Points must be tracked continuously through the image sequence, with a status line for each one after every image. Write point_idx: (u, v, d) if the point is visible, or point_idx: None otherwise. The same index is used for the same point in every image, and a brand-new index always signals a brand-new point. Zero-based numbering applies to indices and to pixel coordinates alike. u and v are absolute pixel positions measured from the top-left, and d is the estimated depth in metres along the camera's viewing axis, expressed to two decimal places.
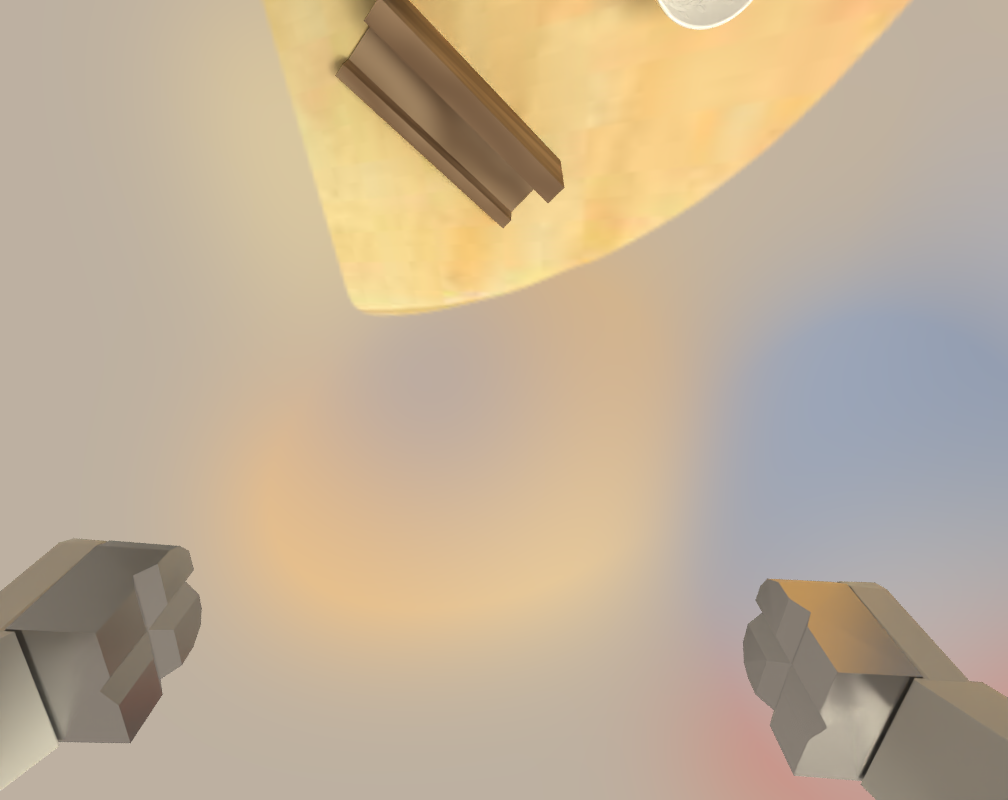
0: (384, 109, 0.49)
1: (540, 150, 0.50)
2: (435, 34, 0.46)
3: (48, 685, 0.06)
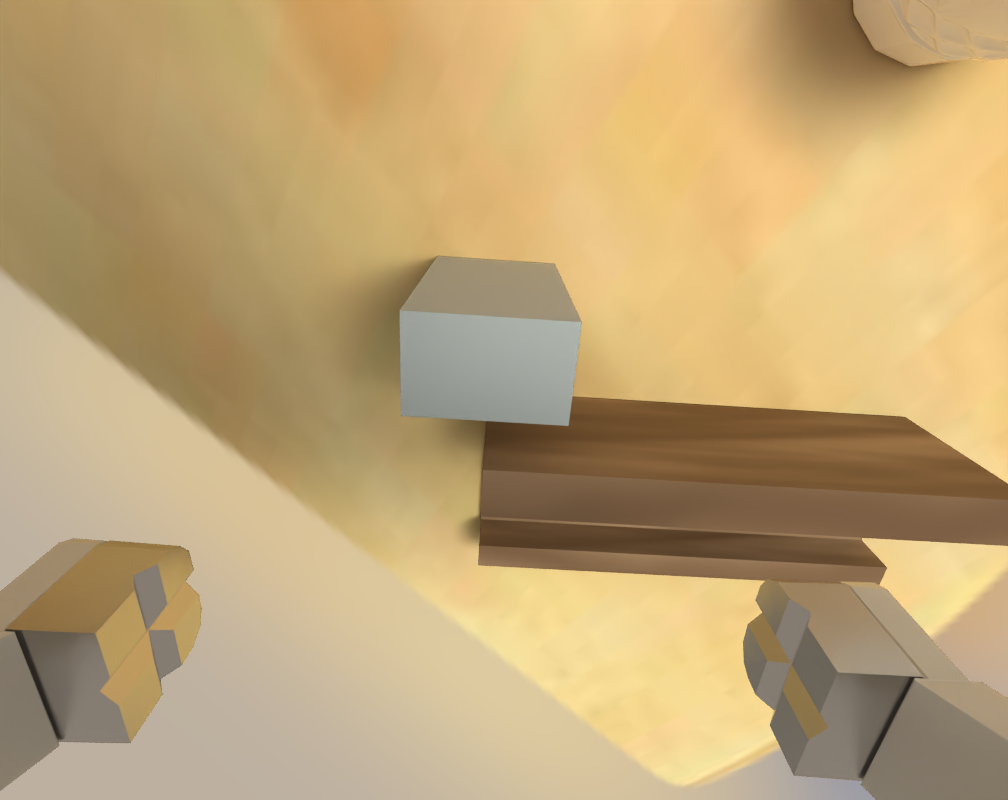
0: (574, 558, 0.26)
1: (890, 448, 0.23)
2: (587, 413, 0.24)
3: (48, 685, 0.06)
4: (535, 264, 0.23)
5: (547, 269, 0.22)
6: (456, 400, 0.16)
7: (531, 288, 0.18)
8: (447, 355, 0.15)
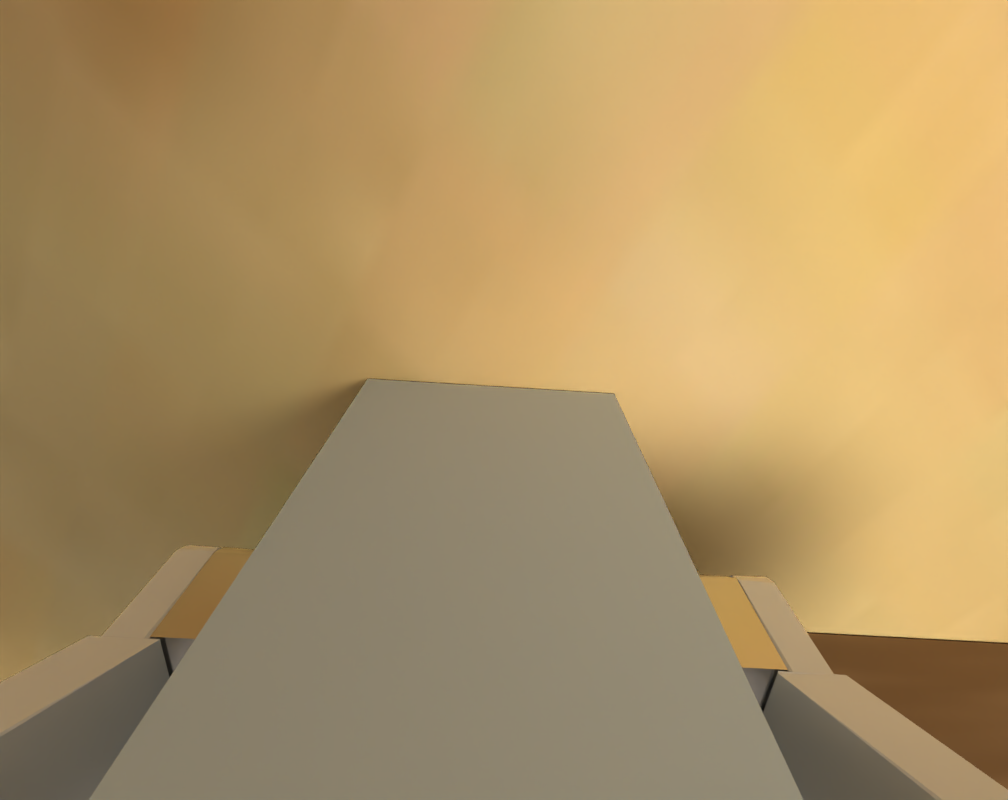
0: None
1: None
2: None
3: None
4: (575, 400, 0.11)
5: (605, 423, 0.10)
6: None
7: (589, 558, 0.06)
8: None
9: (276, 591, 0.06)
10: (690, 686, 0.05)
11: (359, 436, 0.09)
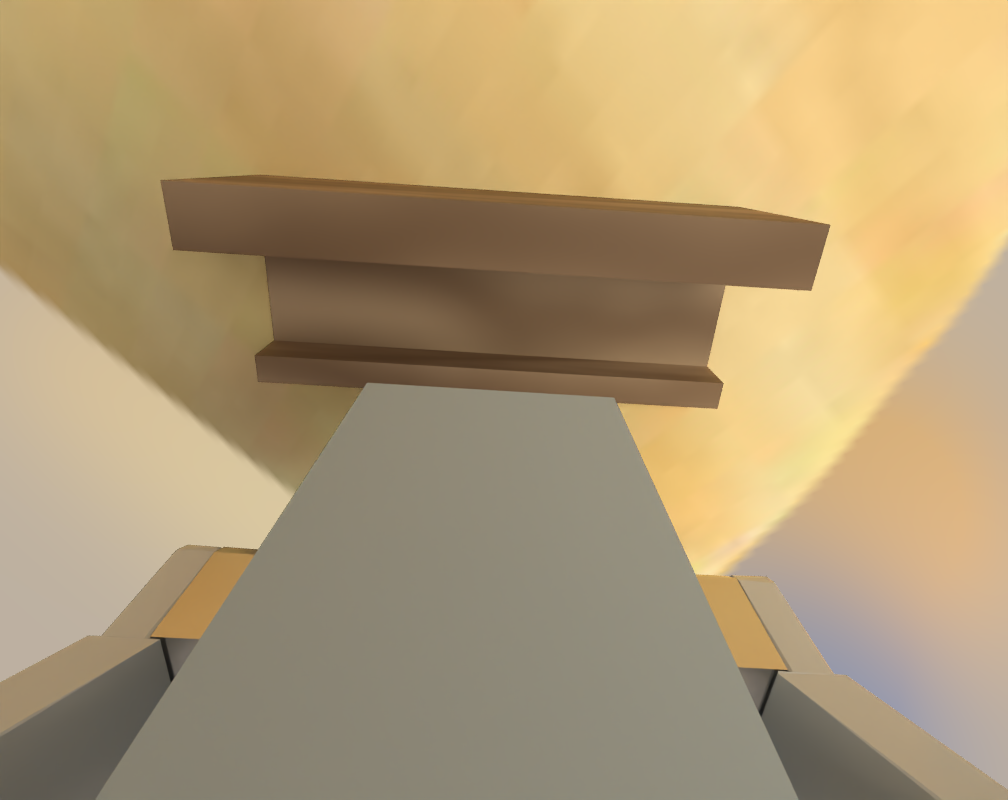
0: (365, 372, 0.23)
1: (696, 209, 0.20)
2: (357, 183, 0.21)
3: None
4: (575, 404, 0.11)
5: (605, 427, 0.10)
6: None
7: (589, 566, 0.06)
8: None
9: (275, 600, 0.05)
10: (690, 696, 0.05)
11: (358, 441, 0.09)
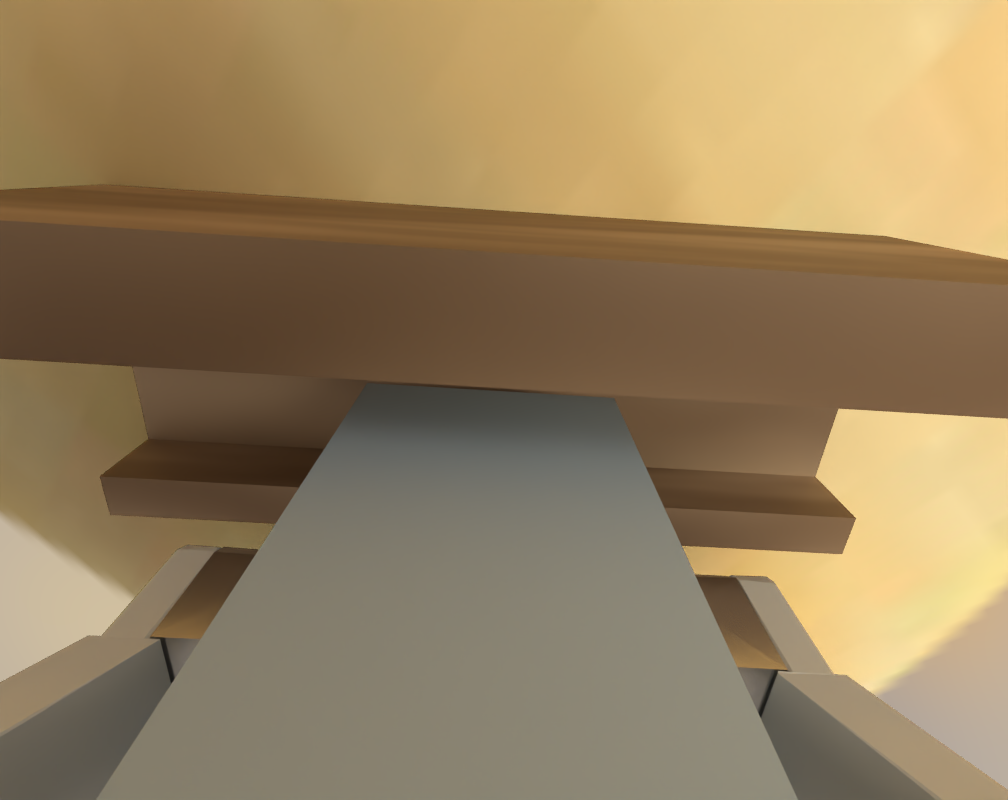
0: (281, 500, 0.14)
1: (850, 248, 0.11)
2: (251, 200, 0.12)
3: None
4: (575, 404, 0.11)
5: (605, 428, 0.10)
6: None
7: (589, 566, 0.06)
8: None
9: (275, 600, 0.05)
10: (690, 696, 0.05)
11: (359, 442, 0.09)
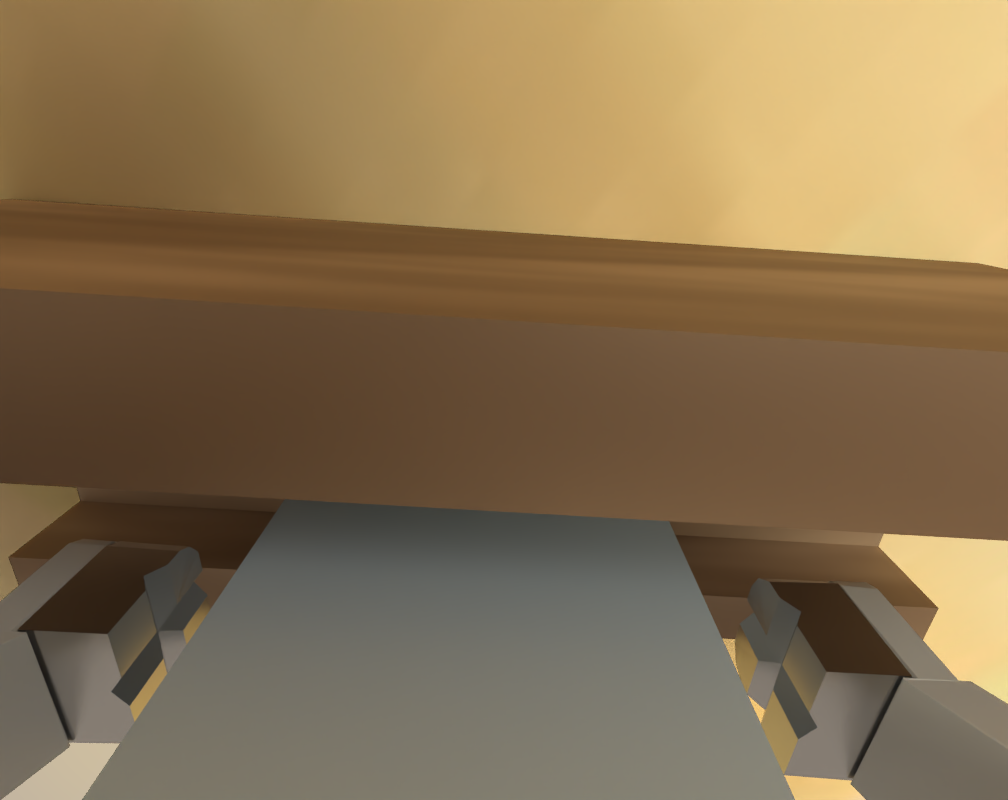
0: None
1: (966, 288, 0.08)
2: (184, 221, 0.09)
3: (59, 685, 0.06)
4: None
5: None
6: None
7: None
8: None
9: (307, 528, 0.06)
10: (654, 600, 0.06)
11: None
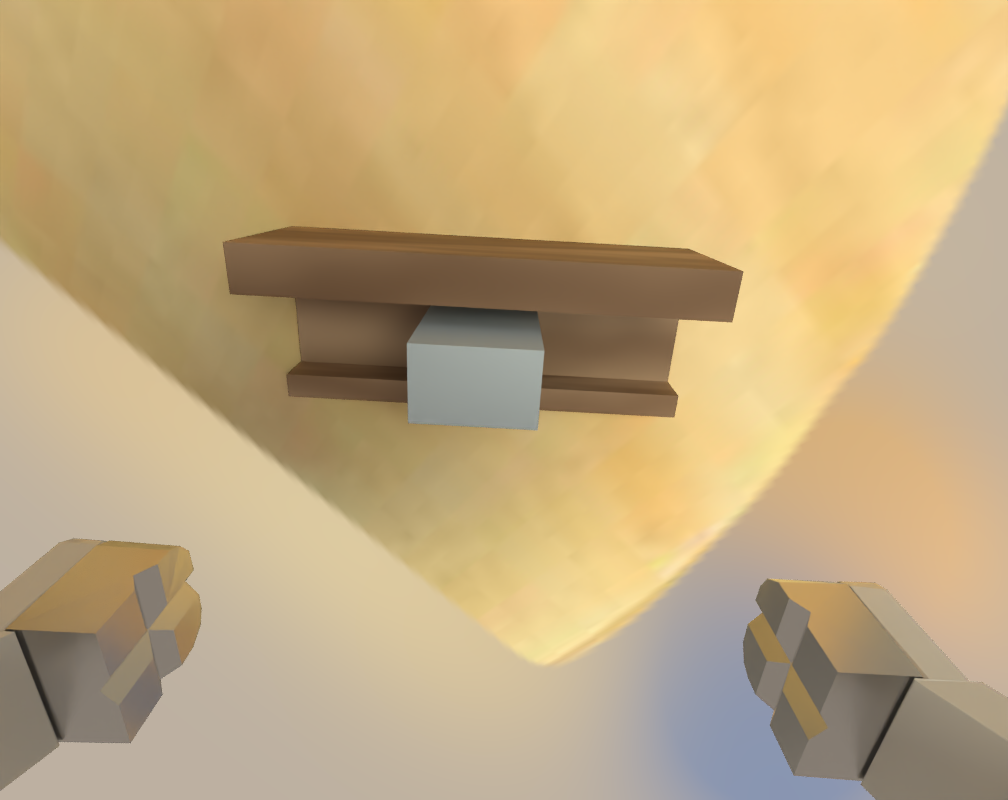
0: (378, 387, 0.28)
1: (646, 254, 0.24)
2: (372, 234, 0.26)
3: (48, 685, 0.06)
4: None
5: None
6: (450, 410, 0.21)
7: (511, 322, 0.23)
8: (443, 377, 0.20)
9: (431, 322, 0.23)
10: (527, 333, 0.22)
11: None
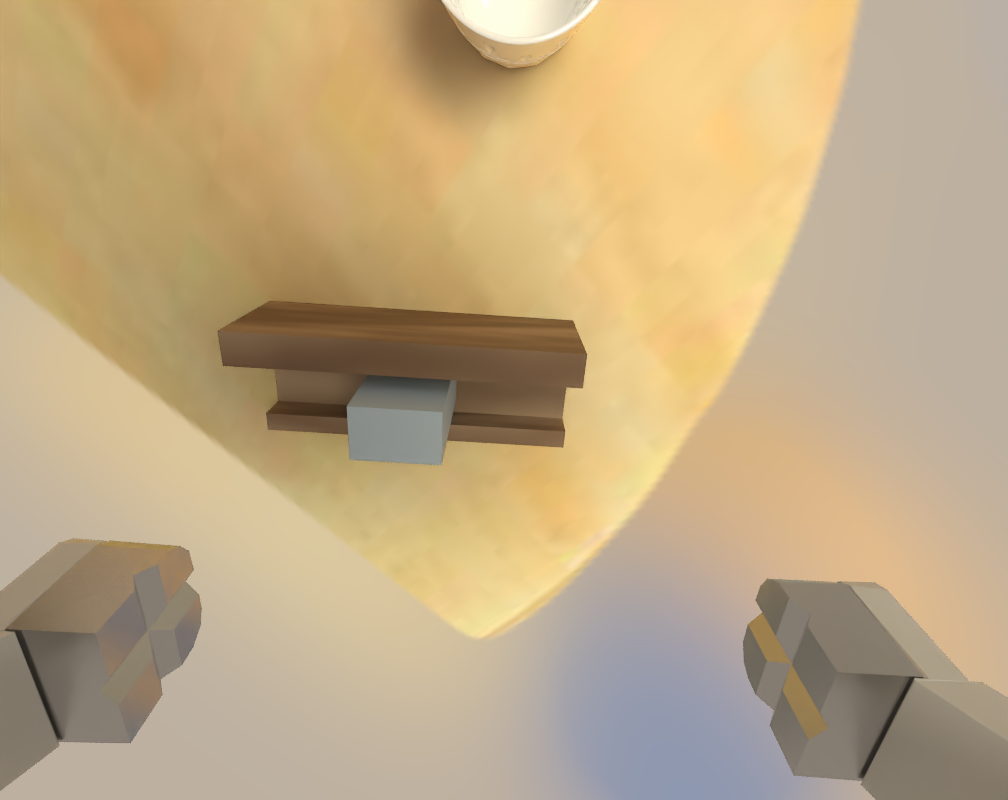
0: (336, 423, 0.36)
1: (530, 332, 0.33)
2: (330, 311, 0.34)
3: (48, 685, 0.06)
4: None
5: None
6: (379, 451, 0.29)
7: (429, 383, 0.32)
8: (373, 428, 0.29)
9: (369, 384, 0.31)
10: (437, 395, 0.30)
11: None
